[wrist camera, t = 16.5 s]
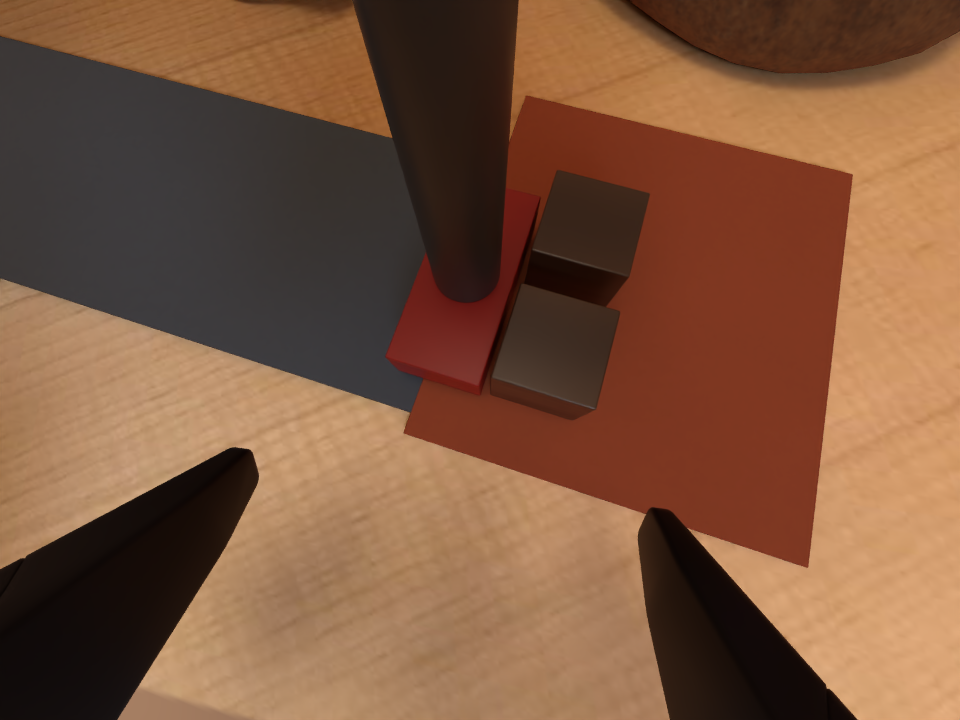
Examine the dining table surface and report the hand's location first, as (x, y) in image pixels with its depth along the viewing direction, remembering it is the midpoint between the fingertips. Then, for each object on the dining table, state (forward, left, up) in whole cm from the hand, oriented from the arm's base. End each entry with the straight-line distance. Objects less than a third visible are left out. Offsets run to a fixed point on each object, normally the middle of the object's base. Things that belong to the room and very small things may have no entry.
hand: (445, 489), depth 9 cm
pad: (+11, -6, -9) cm, 15 cm away
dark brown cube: (+11, -2, -9) cm, 14 cm away
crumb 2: (+6, -2, -9) cm, 11 cm away
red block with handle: (+8, +2, -9) cm, 12 cm away
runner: (+9, +20, -9) cm, 24 cm away
